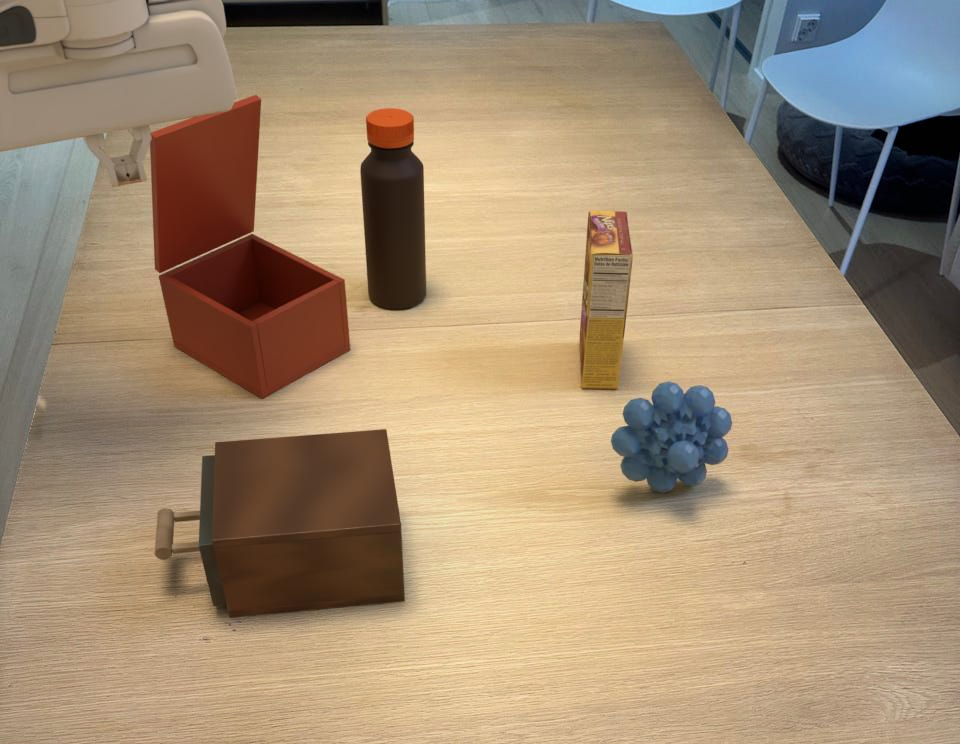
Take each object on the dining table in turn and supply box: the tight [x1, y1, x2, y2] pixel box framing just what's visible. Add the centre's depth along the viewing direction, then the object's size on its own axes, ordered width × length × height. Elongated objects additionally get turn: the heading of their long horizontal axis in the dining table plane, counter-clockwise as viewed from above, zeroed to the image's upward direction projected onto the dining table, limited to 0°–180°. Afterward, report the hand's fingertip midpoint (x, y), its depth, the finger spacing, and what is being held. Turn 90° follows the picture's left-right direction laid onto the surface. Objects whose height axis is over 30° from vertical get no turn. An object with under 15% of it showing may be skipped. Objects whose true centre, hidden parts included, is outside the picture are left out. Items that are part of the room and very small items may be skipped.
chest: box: [158, 233, 351, 399], centre depth 112 cm, size 15×13×8 cm
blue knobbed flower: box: [610, 381, 733, 494], centre depth 95 cm, size 12×7×12 cm, turn 103°
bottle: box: [359, 107, 427, 310], centre depth 116 cm, size 7×7×20 cm
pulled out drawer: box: [154, 454, 227, 607], centre depth 89 cm, size 18×11×7 cm, turn 99°
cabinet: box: [212, 428, 406, 618], centre depth 89 cm, size 15×13×9 cm
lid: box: [149, 94, 262, 274], centre depth 106 cm, size 15×13×1 cm
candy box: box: [578, 210, 634, 390], centre depth 108 cm, size 9×4×15 cm, turn 178°
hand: (127, 181), depth 88 cm, fingers closed
